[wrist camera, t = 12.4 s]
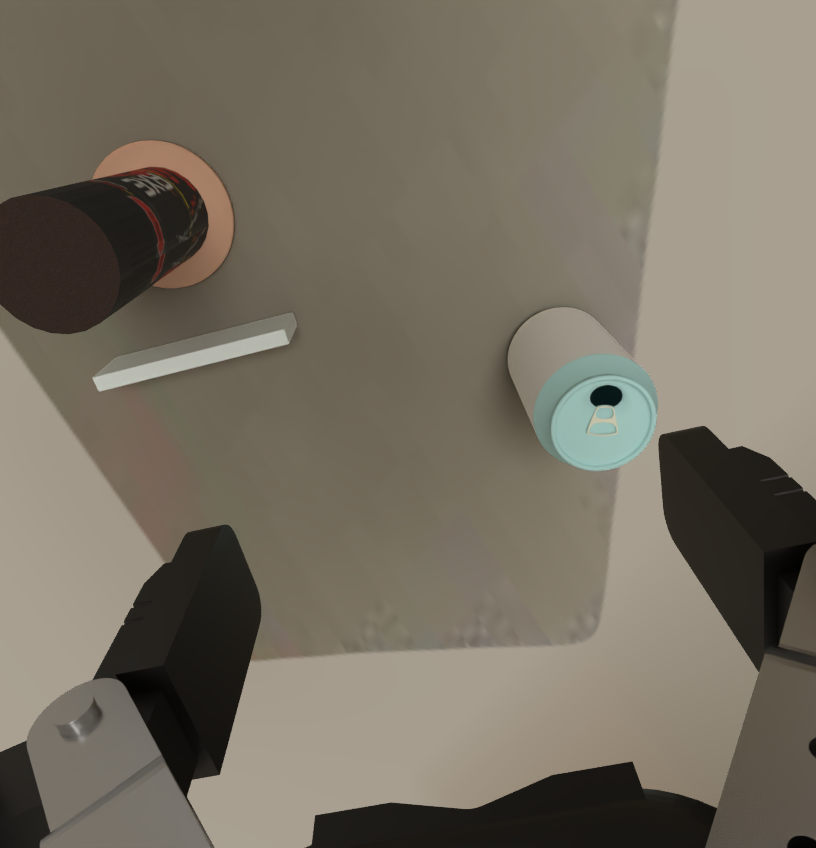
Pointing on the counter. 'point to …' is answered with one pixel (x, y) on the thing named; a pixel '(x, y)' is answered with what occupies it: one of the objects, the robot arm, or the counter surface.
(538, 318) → the can
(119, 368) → the acrylic wall
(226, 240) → the coaster
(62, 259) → the deodorant
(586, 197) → the counter surface
